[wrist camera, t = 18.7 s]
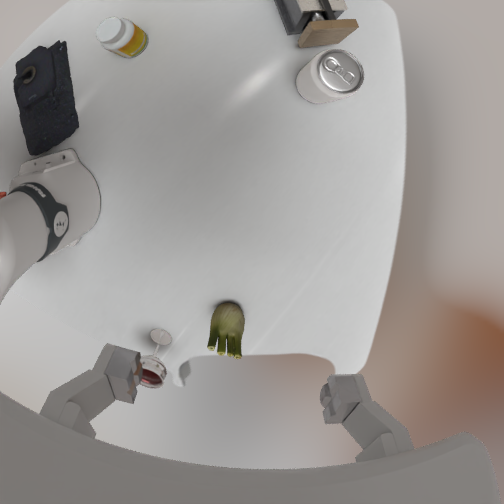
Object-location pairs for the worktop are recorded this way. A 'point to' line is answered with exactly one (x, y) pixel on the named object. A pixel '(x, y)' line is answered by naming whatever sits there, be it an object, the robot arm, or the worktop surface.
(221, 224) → the worktop surface
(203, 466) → the robot arm
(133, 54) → the supplement bottle
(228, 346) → the fennel bulb
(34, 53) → the dark folded fabric
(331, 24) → the gauge plunger
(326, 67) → the can
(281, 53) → the worktop surface
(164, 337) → the wineglass
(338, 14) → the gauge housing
